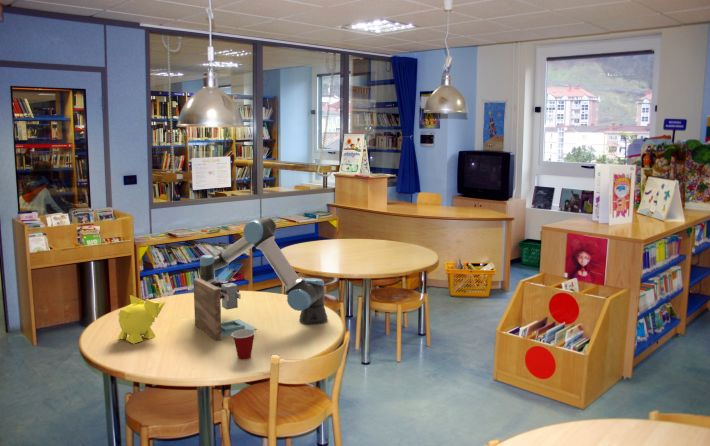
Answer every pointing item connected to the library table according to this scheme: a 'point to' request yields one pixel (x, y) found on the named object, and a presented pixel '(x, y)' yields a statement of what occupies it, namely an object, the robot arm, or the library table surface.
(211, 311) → the door panel
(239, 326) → the socket
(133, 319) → the piggy bank
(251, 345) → the plastic cup
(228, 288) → the bar
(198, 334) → the library table surface
